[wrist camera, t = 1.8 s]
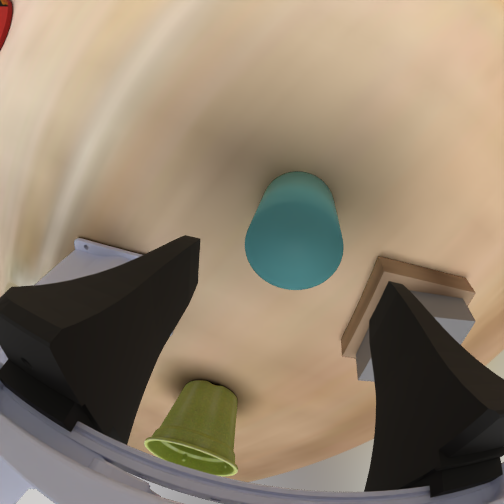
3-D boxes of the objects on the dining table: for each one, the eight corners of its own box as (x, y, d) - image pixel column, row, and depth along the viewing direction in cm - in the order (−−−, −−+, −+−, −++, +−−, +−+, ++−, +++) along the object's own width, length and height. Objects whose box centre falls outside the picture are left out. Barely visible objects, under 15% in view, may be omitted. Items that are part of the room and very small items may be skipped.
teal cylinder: (257, 230, 19) (239, 278, 14) (268, 164, 17) (252, 192, 12) (323, 245, 19) (327, 297, 14) (341, 181, 16) (356, 215, 12)
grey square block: (355, 354, 20) (357, 380, 18) (386, 286, 17) (394, 312, 15) (425, 360, 20) (432, 383, 17) (462, 298, 16) (475, 321, 14)
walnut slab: (340, 334, 23) (342, 356, 21) (376, 251, 19) (384, 271, 17) (419, 346, 22) (425, 366, 20) (463, 274, 18) (475, 292, 16)
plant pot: (268, 410, 29) (255, 478, 22) (205, 418, 33) (187, 474, 26) (219, 362, 26) (192, 440, 19) (156, 375, 30) (126, 437, 22)
